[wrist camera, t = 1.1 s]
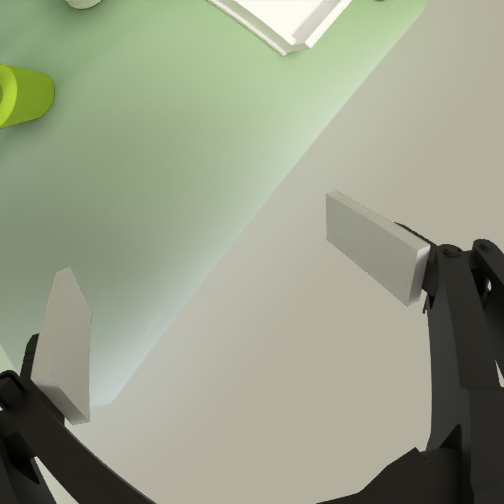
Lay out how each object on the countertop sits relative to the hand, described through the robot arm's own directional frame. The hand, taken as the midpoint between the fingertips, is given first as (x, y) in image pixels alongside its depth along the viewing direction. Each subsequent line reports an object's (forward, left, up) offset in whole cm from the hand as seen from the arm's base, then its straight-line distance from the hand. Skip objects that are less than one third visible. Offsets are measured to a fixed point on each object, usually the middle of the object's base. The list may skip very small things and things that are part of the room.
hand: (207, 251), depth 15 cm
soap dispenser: (-18, -1, -26) cm, 32 cm away
